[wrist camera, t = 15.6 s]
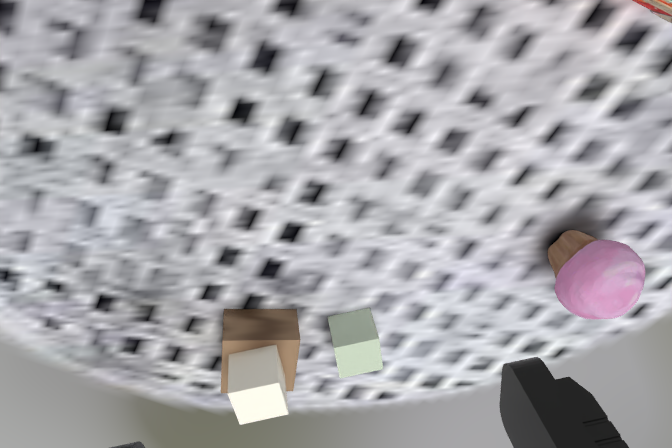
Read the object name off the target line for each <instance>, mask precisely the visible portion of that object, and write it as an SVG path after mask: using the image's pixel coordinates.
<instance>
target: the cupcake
mask: <svg viewBox="0 0 672 448" xmlns="http://www.w3.org/2000/svg"><path fill="white" fill-rule="evenodd" d="M547 253H548V258H549V261H550V264H551V266H552V268H553V270H554V273H555V277H556V284H555V293H556V295H557V297H558V299H559V301H560V302H561V303H562V304H563V306H564V307H565V308H566V309H568V310H569V311H570V312H571V313H573V314H575V315H577V316H579V317H582V318H585V319H612V318H616V317H619V316H621V315H623V314H625V313H626V312H627V311H628V310H630V309H631V308H632V307H633V306H634V305H635V303H636V302H637V301H638V299H639V297H640V294H641V291H642V289H643V286H644V279H645V267H644V264H643V261H642V259H641V258H640V257H639V256H638V255H637V254H636V253H635V252H634V251H633V250H632V249H631V248H630V247H629V246H628V245H626V244H623V243H620V242H616V241H611V240H598V239H596V238H595V237H593V236H590V235H587V234H585V233H583V232H580V231H576V230H569V231H566V232H564V233H563V234H561V236H560V238H559V239H558V240H557V241H556V242H555V243H553V244H552V245H551V246H550V247H549V248H548V252H547Z"/></svg>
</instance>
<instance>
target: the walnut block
mask: <svg viewBox="0 0 672 448" xmlns="http://www.w3.org/2000/svg"><path fill="white" fill-rule="evenodd" d="M272 345H276V346H277V350H278V353H279V357H280V360H281V364H282V367H283V371H284V374H285V382H286V391H293V388H294V381H295V374H296V367H297V360H298V353H299V345H300V334H299V326H298V318H297V310H296V309H224V319H223V341H222V373H221V393H228V366H229V354H234V353H238V352H243V351H248V350H253V349H258V348H262V347H267V346H272Z"/></svg>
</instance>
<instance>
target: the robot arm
mask: <svg viewBox="0 0 672 448" xmlns="http://www.w3.org/2000/svg"><path fill="white" fill-rule="evenodd" d="M500 413H501V417H502V421H503V424H504V427H505V430H506V432H507V434H508V436H509V439H510V441H511V443H512V445H513V447H514V448H629V447H628V445H627V444H626V443H625V441H624V440H622V439H621V437H620V434H619V433H618V431H617V430H616V428H615V427H614V425H613V424H612V423H611V421H609V420H608V418H607V415H606V414H605V412H604V411H603V410H602V408H601V407H600V405H599V404H598V402H597V401H596V400H595V398H594V397H593V395H592V394H591V393H590V392H588V391H587V390H586V389H584V388H583V387H582V386H580V385H579V384H578V383H577V382H575V381H574V380H573V379H571V378H570V377H566V378H561V379H556V380H555V379H554V378H553V376H552V374H551V373H550V371H549V370H548V368H547V367H546V365H545V364H544V362H543V361H542V360H541V359H540V358H538V357H534V358H529V359H525V360H520V361H515V362H511V363H506V364H504V365H503V368H502V381H501V394H500ZM111 448H145V447H144V445H143V444H142V443H141V442H134V443H130V444H125V445H120V446H116V447H111Z"/></svg>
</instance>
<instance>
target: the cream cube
mask: <svg viewBox="0 0 672 448" xmlns="http://www.w3.org/2000/svg"><path fill="white" fill-rule="evenodd" d="M228 396H229V398H230V401H231V403H232V406H233V408H234V411H235V413H236V416H237V418H238V421H239V424H240V425H241V424H245V423H250V422H254V421H259V420H263V419H269V418H273V417H278V416H282V415H287V414H288V405H287V393H286V382H285V374H284V371H283V367H282V364H281V360H280V357H279V353H278V350H277V346H276V345H272V346H267V347H262V348H258V349H253V350H248V351H243V352H238V353H234V354H229V366H228Z"/></svg>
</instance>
